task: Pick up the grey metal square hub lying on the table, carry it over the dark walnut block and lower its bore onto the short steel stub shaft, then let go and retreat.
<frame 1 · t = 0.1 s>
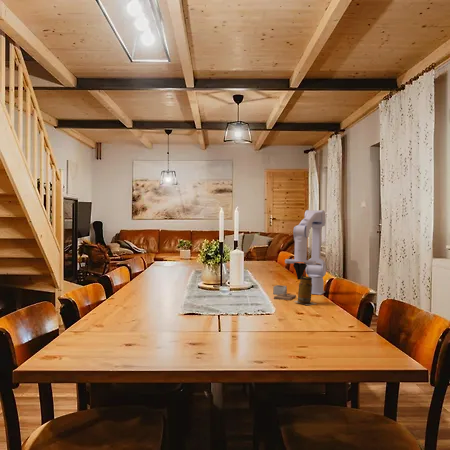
hand: (299, 279, 213), 11 cm above the table, tool pointing down, fingers closed
hub: (279, 293, 236), on the table
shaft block: (285, 297, 224), on the table
condiment: (305, 303, 210), on the table, touching gripper
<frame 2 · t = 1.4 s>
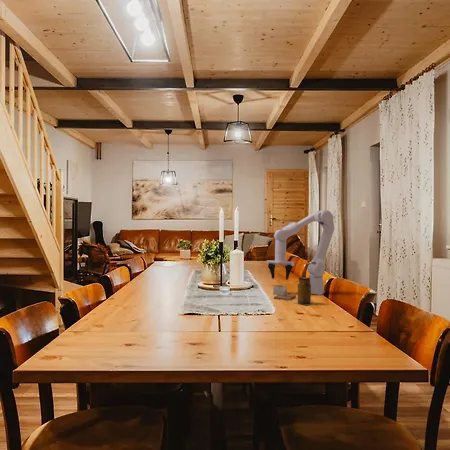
hand: (280, 278, 236), 8 cm above the table, tool pointing down, fingers open, 7 cm apart
condiment: (305, 304, 211), on the table
everything else where it was.
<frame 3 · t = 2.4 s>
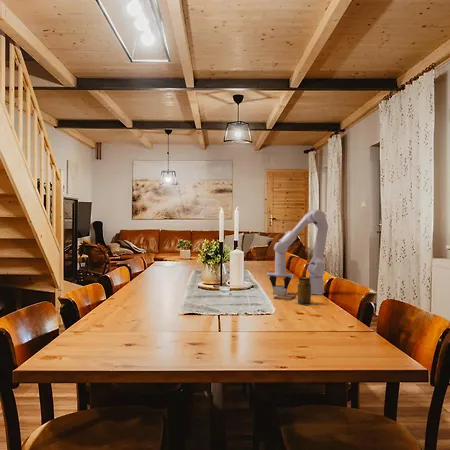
hand: (279, 291, 236), 1 cm above the table, tool pointing down, fingers closed on hub, 5 cm apart
hub: (279, 293, 236), on the table, touching gripper
everything else where it was.
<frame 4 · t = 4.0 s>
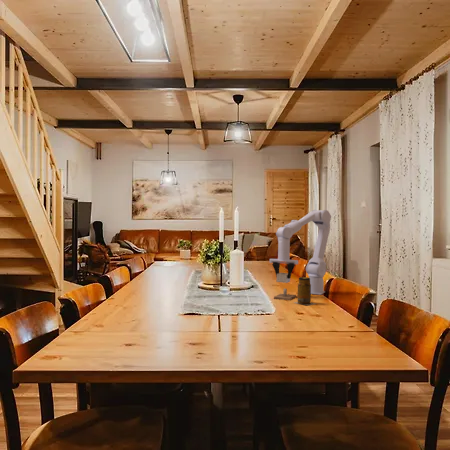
hand: (283, 277, 228), 9 cm above the table, tool pointing down, fingers closed on hub, 5 cm apart
hub: (283, 281, 228), point 8 cm above the table, touching gripper
everything else where it was.
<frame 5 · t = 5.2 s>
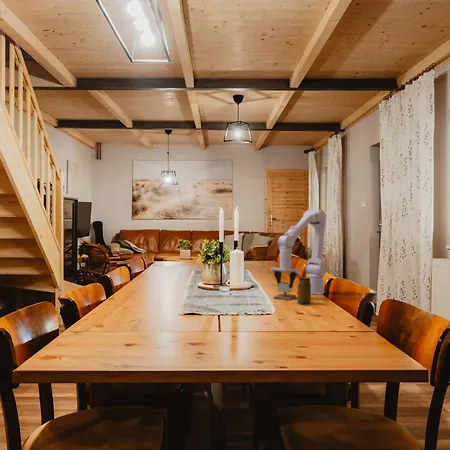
hand: (285, 287, 224), 5 cm above the table, tool pointing down, fingers closed on hub, 5 cm apart
hub: (285, 291, 224), point 3 cm above the table, touching gripper
everything else where it was.
when the fingers open (5 cm above the table, at t = 5.9 s): hub drops 2 cm, resting on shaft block.
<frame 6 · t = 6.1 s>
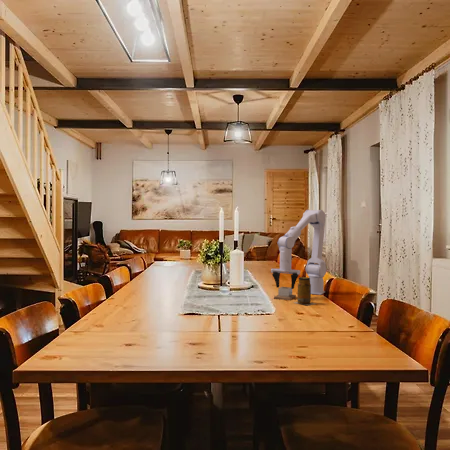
hand: (285, 288, 224), 5 cm above the table, tool pointing down, fingers open, 7 cm apart
hub: (285, 295, 224), point 1 cm above the table, touching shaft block
everything else where it was.
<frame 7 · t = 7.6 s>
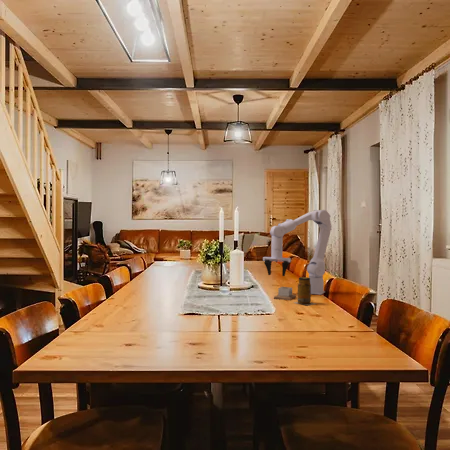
hand: (276, 275, 233), 10 cm above the table, tool pointing down, fingers open, 7 cm apart
nothing on the table moved.
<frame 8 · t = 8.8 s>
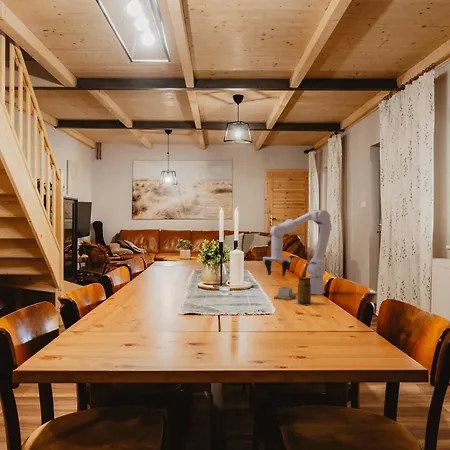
hand: (276, 275, 233), 10 cm above the table, tool pointing down, fingers open, 7 cm apart
nothing on the table moved.
at the end: hub 0.1 cm off-centre on the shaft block, point 1.0 cm above the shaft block's base; hub tilted 0°; the gripper is holding nothing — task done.
